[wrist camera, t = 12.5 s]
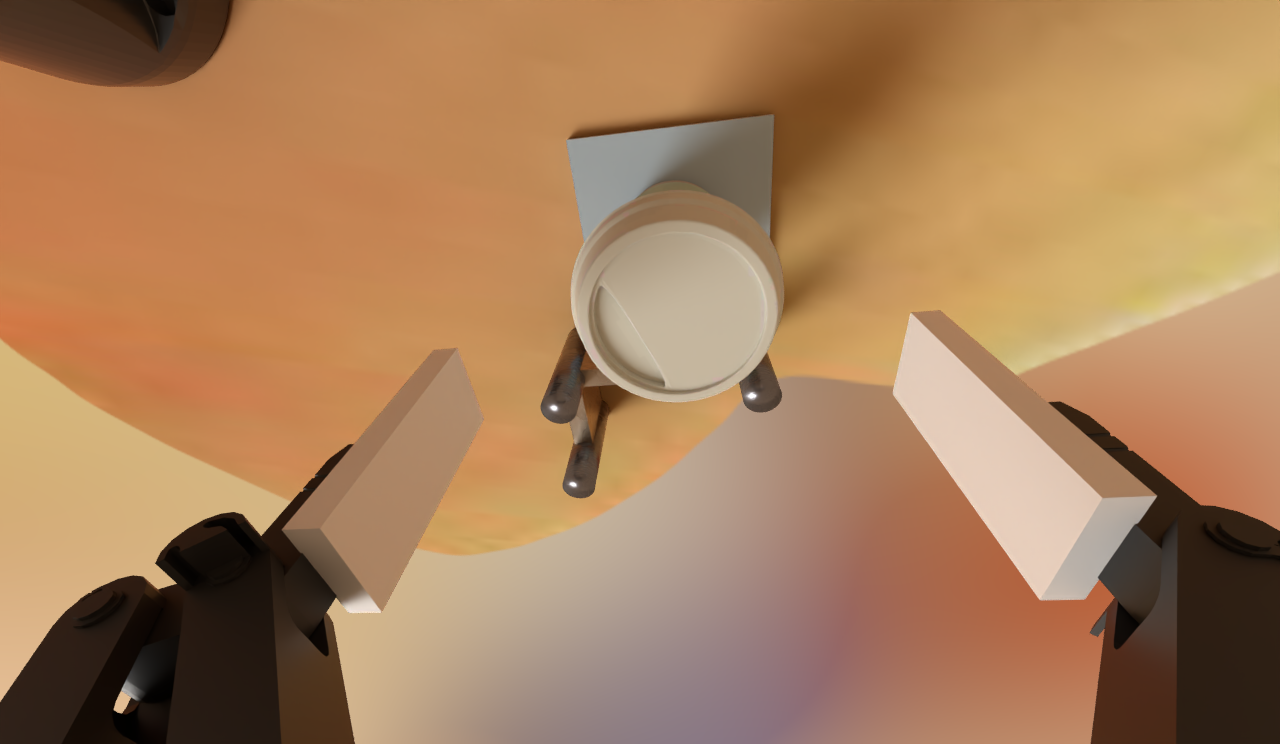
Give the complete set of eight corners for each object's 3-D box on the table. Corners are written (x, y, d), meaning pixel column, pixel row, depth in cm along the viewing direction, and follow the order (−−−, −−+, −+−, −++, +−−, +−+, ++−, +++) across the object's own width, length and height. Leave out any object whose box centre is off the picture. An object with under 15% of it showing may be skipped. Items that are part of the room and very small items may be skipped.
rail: (565, 328, 32) (537, 395, 25) (757, 313, 30) (782, 380, 24) (585, 420, 36) (566, 498, 29) (755, 410, 35) (776, 490, 28)
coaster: (568, 138, 25) (566, 140, 25) (772, 114, 24) (774, 114, 24) (599, 319, 31) (598, 323, 31) (765, 305, 30) (767, 309, 29)
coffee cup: (601, 148, 25) (555, 193, 15) (759, 157, 25) (822, 210, 15) (601, 295, 30) (566, 406, 19) (734, 303, 29) (769, 420, 19)
